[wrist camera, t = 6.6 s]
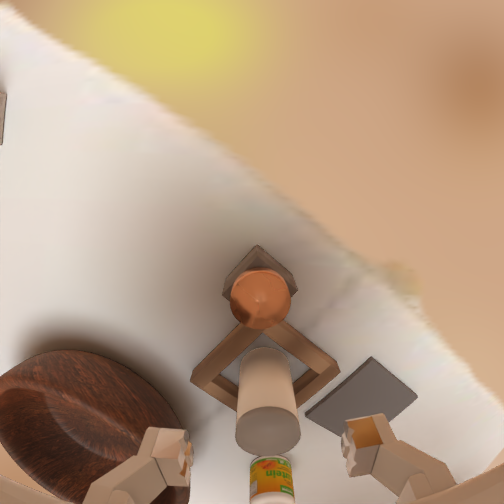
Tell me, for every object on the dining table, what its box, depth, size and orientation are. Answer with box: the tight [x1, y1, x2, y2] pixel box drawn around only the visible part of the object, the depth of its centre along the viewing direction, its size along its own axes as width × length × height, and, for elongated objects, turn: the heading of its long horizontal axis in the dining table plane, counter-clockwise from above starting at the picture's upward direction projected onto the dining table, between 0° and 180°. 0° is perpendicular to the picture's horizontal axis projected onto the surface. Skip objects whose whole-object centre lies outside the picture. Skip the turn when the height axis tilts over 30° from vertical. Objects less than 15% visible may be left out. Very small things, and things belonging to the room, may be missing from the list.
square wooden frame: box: [190, 245, 340, 412], centre depth 29 cm, size 14×14×4 cm
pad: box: [305, 357, 418, 437], centre depth 33 cm, size 10×10×1 cm
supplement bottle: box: [250, 455, 295, 504], centre depth 31 cm, size 5×5×10 cm
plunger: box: [230, 267, 291, 329], centre depth 26 cm, size 4×4×5 cm
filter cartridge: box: [235, 347, 301, 456], centre depth 26 cm, size 5×5×10 cm
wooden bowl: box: [0, 350, 190, 504], centre depth 29 cm, size 25×25×10 cm
